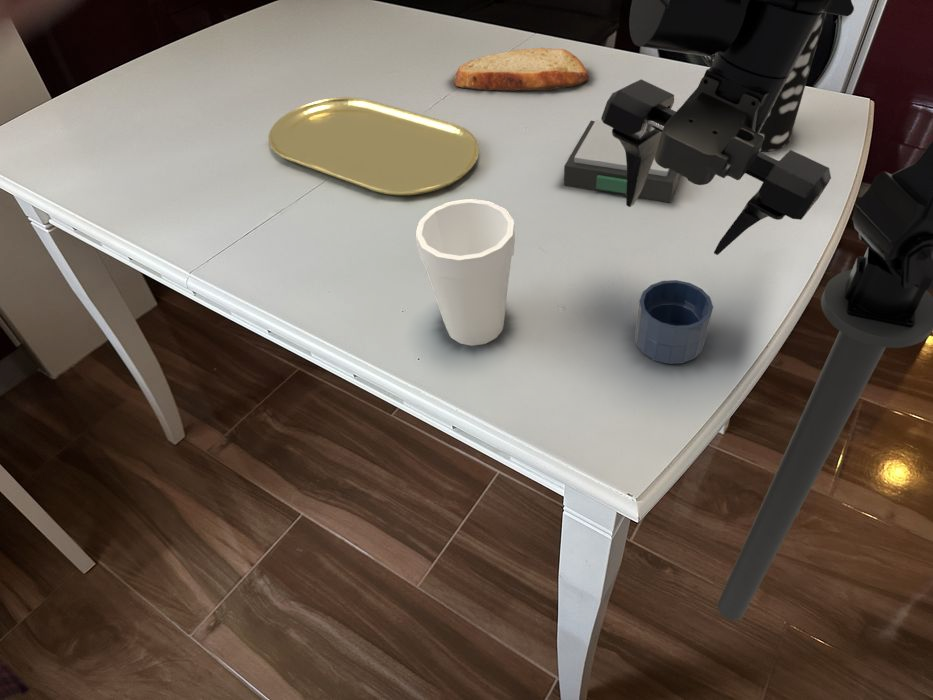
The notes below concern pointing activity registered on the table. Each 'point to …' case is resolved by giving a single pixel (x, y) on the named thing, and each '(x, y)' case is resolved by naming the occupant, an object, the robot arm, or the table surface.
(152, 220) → the table surface
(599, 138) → the scale
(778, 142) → the white-spotted black cylinder
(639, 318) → the small blue cup
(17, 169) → the table surface
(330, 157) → the serving platter
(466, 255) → the foam cup
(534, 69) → the bread slice
